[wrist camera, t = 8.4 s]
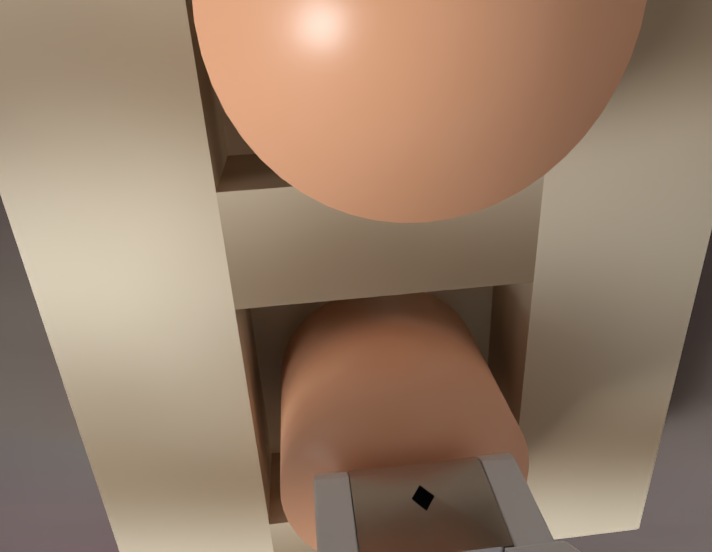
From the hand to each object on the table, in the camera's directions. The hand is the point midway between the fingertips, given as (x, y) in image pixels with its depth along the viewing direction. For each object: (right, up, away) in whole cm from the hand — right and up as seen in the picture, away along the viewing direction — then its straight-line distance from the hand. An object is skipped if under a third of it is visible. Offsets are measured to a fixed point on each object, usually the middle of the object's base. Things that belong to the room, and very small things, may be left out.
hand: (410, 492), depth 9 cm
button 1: (0, +1, +3) cm, 3 cm away
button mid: (0, +7, -1) cm, 7 cm away
